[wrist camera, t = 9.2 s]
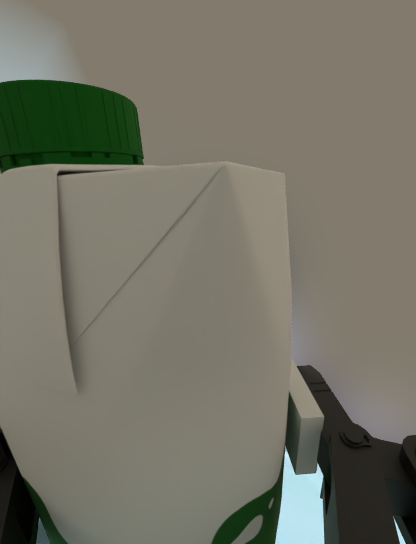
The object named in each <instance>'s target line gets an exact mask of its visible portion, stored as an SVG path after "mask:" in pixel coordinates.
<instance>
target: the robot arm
mask: <svg viewBox="0 0 416 544" xmlns="http://www.w3.org/2000/svg"><path fill="white" fill-rule="evenodd" d="M0 174H1V171H0ZM285 446H286V449H287V451H288V454H289V457H290V460H291V463H292V466H293V469H294V472H295V475H299V474H311V473H316V470H317V463H318V464H319V466H320V469H321V471H322V473H323V483H322V489H321V495H320V498H322V499H323V515H324V541H325V544H400V542H399V538H398V534H397V530H396V526H395V522H394V519H395V521H396V523H397V525H398V527H399V530H400V532H401V534H402V536H403V538H404V541H405V543H406V544H416V435H412V436H407V437H406V438H405V439H404V440H403V443H402V444H398V443H393V442H388V441H384V440H380V439H377V438H373V437H372V436H371V435H370V434H369V433H368V432H367V431H366V430H365V429H363V428H362V427H361V426H359V425H357V424H355V423H353V422H352V421H351V420H350V418H349V417H348V415H347V413H346V412H345V411H344V409H343V407H342V406H341V405H340V403H339V401H338V400H337V398H336V397H335V395H334V394H333V392H332V391H331V389H330V388H329V386H328V385H327V384H326V382H325V380H324V379H323V377H322V375H321V374H320V373H319V372H318V371H317V370H316V369H314V368H313V367H312V366H310V365H307V366H296V365H295V363H294V361H293V359H292V357H291V368H290V382H289V397H288V412H287V426H286V441H285ZM393 516H394V518H393ZM38 521H39V515H38V512H37V510H36V508H35V505H34V503H33V501H32V498H31V496H30V494H29V491H28V489H27V487H26V484H25V482H24V480H23V478H22V475H21V473H20V471H19V468H18V466H17V464H16V461H15V459H14V457H13V454H12V452H11V450H10V447H9V445H8V443H7V440H6V438H5V436H4V433H3V431H2V429H1V426H0V544H36V539H37V530H38Z"/></svg>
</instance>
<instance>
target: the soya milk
mask: <svg viewBox="0 0 416 544" xmlns="http://www.w3.org/2000/svg"><path fill="white" fill-rule="evenodd" d="M143 158H144V157H143V151H142V144H141V136H140V128H139V121H138V113H137V108H136V106H135V104H134V103H133V102H132V101H131V100H130V99H128V98H126V97H125V96H123V95H120V94H118V93H116V92H113V91H109V90H106V89H103V88H99V87H95V86H91V85H85V84H79V83H73V82H65V81H54V80H16V81H7V82H1V83H0V171H1V174H0V426H1V429H2V431H3V433H4V436H5V438H6V440H7V443H8V445H9V447H10V450H11V452H12V454H13V457H14V459H15V461H16V464H17V466H18V468H19V471H20V473H21V475H22V478H23V480H24V482H25V484H26V487H27V489H28V491H29V494H30V496H31V498H32V501H33V503H34V505H35V508H36V510H37V512H38V515H39V517H40V519H41V522H42V524H43V526H44V529H45V531H46V533H47V536H48V538H49V540H50V543H51V544H275V540H276V532H277V526H278V520H279V514H280V506H281V498H282V484H283V469H284V455H285V441H286V426H287V412H288V397H289V382H290V368H291V318H292V291H291V275H290V258H289V241H288V225H287V208H286V191H285V174H284V173H279V172H274V171H270V170H265V169H260V168H255V167H251V166H246V165H241V164H236V163H231V162H225V161H223V162H211V163H200V164H199V163H198V164H186V165H175V166H150V165H144V164H143V161H142V159H143Z"/></svg>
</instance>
